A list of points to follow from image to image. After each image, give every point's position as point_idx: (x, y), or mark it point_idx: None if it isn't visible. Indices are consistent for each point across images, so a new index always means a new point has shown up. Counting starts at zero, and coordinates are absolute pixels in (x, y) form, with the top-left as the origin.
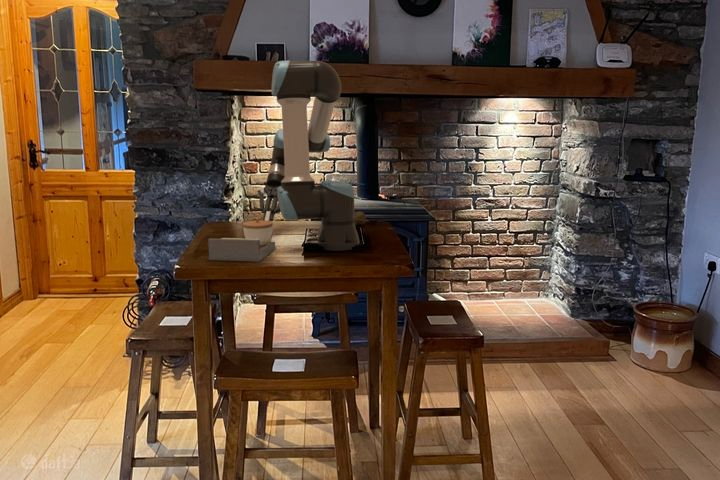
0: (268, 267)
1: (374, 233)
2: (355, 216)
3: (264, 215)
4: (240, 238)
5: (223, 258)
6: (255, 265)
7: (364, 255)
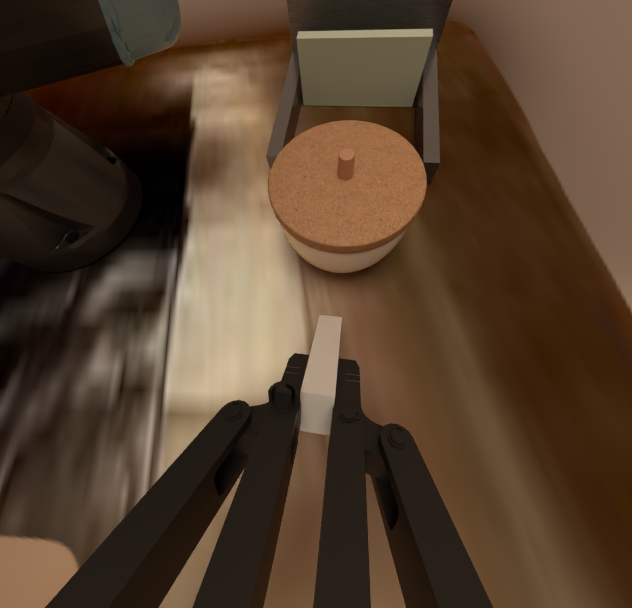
0: (270, 39)
1: None
2: None
3: (350, 381)
4: (362, 37)
5: None
6: None
7: None
